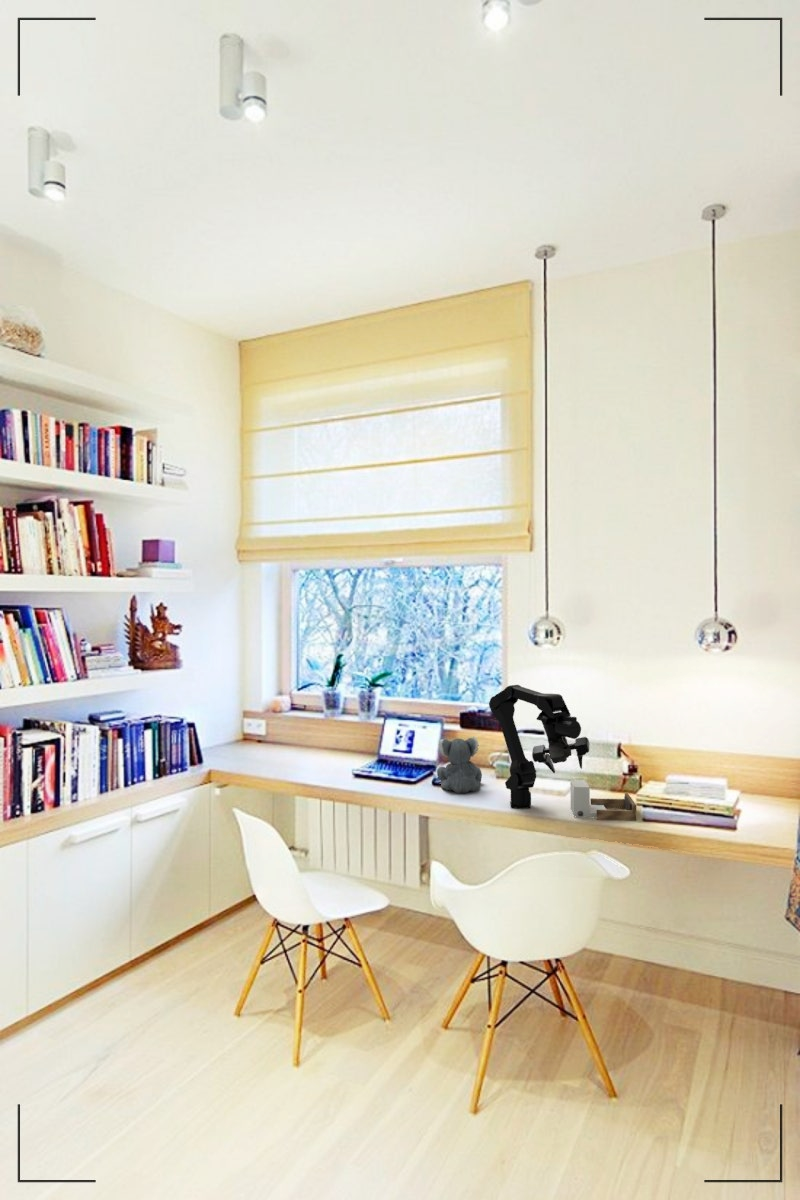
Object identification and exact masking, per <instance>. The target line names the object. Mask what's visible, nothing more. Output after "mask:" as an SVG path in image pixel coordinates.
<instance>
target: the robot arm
mask: <svg viewBox="0 0 800 1200" xmlns="http://www.w3.org/2000/svg"><path fill="white" fill-rule="evenodd" d="M519 700H520V701H523V702H526V703H527V704H531V705H534V706H536V708H537V710H540V711H541V712H539V714H538V716H537V717H536V720H537V721H540V722H541V723H542V726H543V730H544V732H545V735H546V737H547V743H548V747H547V748H546V745H545V744H540V745H535V746H533V748H532V753H531V756H532V760H529V759H528V758H527V757H526V756H525V752H524V750H523V745H522V743H521V739H520V736H519V733H518V729H517V725H516V723H515V720H514V715H515V710H516V708H515V704H517V702H518V701H519ZM488 706H489V709H490V712H491V714H492V716H494V718H495V719H496V720H497V721H498V722H499V724H500V728H501V732H502V734H503V738H504V741H505V745H506V749H507V750H508V755H509V758H510V766H509V773H510V776H509V777H508V778H507V780H506V781H505V783H504V784H505V789H507V790H510V801H509V805H510V808H511V807H512V809H530V808H531V805H532V793H531V791H530V789H531V788H534V785H535V782H536V779H537V770H536V768H535V763H537V762H538V764H540V763H541V764H545V765H546V766H547V768H548V769H549V770H550V771H551V773H553V774H555V773H556V769H555V767H554V764H558V763H565V762H567V760H568V759H569V757H571V756H572V751H573V750H575V751H576V756H577V760H578V763H579V764H578V765H579V767H580V769H581V770H582V769H583V757H584V756H586V755H587V753H589V752H590V740H589V738H588V737H586V736H583V737H579V736H580V735H581V731H582V727H581V723H580V722H579V721H577V720H578V719H577V716H571V713H570V710H569V709H568V706H567V704H566V702H565V700H564V698H563V695H561V694H558V693H542V692H539V691H538V690H533V689H530V688H526V687H524V686H521V685H519V684H513V685H512V684H511V685H508V686H506V687H505V688H504V689H503V690H501V691H499V692H498V693H497V694H495V695H494V696H492V697H491V698H490V700H489V702H488ZM567 738H569V739H574V741H575V742H574V743H568V739H567ZM567 758H568V759H567ZM515 807H516V808H515Z"/></svg>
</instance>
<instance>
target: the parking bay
mask: <svg viewBox="0 0 800 1200" xmlns="http://www.w3.org/2000/svg"><path fill="white" fill-rule="evenodd" d="M595 803H599V804H600V805H604V807H605V808H606V810H597V818H596V820H598V821H600V820H601V821H602V820H603V821H605V820H606V821H637V804H636V802H635V801H634V800H633V798H632V797H631V796H630V794H629V793H628V792H624V798H590V805H595Z"/></svg>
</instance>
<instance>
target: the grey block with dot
mask: <svg viewBox="0 0 800 1200" xmlns="http://www.w3.org/2000/svg"><path fill="white" fill-rule="evenodd" d="M569 782H570V783H569V784H570V785H569V786H570V810H572V811H571V813H572V812H573V813H572V815H574V816H573V817H574V818H589V817H594V818H595V819H597V810H607V808H605V807H604V805H600V804H599V803H595V805H591V804H590V786H589V784H588V783H587V780H586V779H570V781H569ZM575 816H576V817H575Z"/></svg>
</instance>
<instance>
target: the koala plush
mask: <svg viewBox="0 0 800 1200" xmlns="http://www.w3.org/2000/svg"><path fill="white" fill-rule="evenodd" d="M438 746H439V747H438V749H439V752H440V754H441V755H442V756H443V757H447V760H448V762H449V763H447V764H446V766H439V767H438V768H437V769H436V775H437V780H438V779H439V780H441V783H439V785H440V784H441V785H440V786H441V789H443V790H447V791H448V790H449V791H451V790H453V792H454V793H456V794H457V793H458V794H466V793H468V792H476V791H478V790H479V789H480V784H481V783H482V776H483V774H482V770H481V768H480V766H476V765H475V763H474V762H472V761H471V757H472V758H473V757H475V755H476V754H477V753H478V751H479V746H480V745H479V741H478V739H477V737H475V736H471V737H469V738H468V739H463V738H458V737H457V738H454V739H453V740H451V741H450V740H448V739H447V738H445V739H444V738H443V739H439V741H438ZM451 792H452V791H451Z"/></svg>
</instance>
